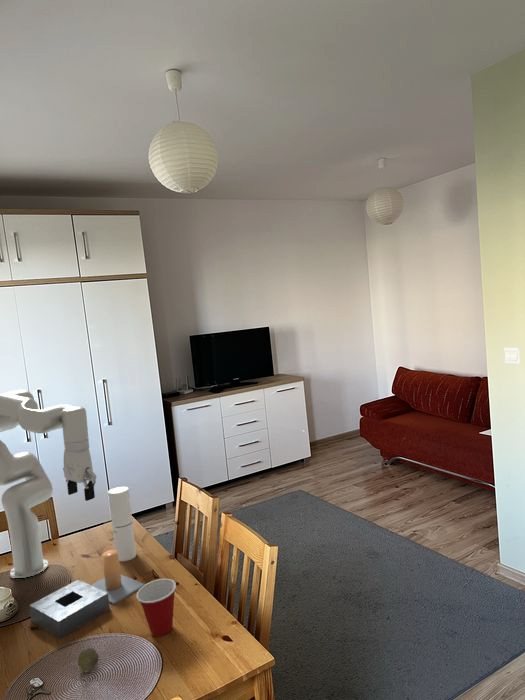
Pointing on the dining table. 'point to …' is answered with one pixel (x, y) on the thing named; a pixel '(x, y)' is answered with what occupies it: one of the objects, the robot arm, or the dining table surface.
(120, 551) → the cylindrical container
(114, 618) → the dining table surface
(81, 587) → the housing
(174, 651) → the dining table surface
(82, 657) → the lime
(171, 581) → the plastic cup
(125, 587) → the mat
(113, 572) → the orange rounded cylinder
